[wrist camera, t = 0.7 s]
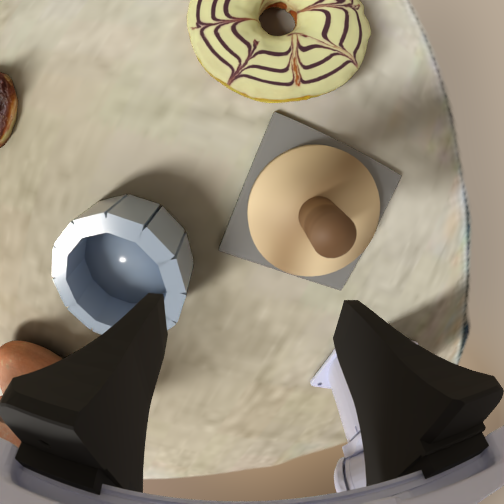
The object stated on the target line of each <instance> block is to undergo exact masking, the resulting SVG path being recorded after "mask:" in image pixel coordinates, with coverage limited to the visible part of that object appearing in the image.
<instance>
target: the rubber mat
mask: <svg viewBox="0 0 504 504" xmlns="http://www.w3.org/2000/svg"><path fill="white" fill-rule="evenodd" d="M312 144H318V145H326V146H330V147H334V148H337V149H340V150H342V151H345V152H347V153H349V154H350V155H352V156H354V157H355V158H356V159H358V160H359V161H360V162H361V163H362V164H363V165H364V166H365V167H366V168H367V169H368V171H369V172H370V174H371V175H372V177H373V179H374V181H375V183H376V186H377V189H378V193H379V198H380V216H379V221H380V219H381V217H382V215H383V213H384V211H385V209H386V207H387V205H388V203H389V201H390V199H391V197H392V195H393V193H394V191H395V189H396V187H397V185H398V182H399V180H400V178H401V175H400V174H398V173H396V172H395V171H393V170H391V169H390V168H388V167H386V166H384V165H383V164H381V163H379V162H377V161H376V160H374V159H372V158H370V157H368V156H367V155H365V154H363V153H361V152H359V151H357V150H355V149H354V148H352V147H350V146H348V145H346V144H344V143H342V142H340V141H338V140H336V139H334V138H332V137H330V136H328V135H326V134H324V133H322V132H319V131H317V130H315V129H313V128H311V127H309V126H306V125H304V124H302V123H300V122H298V121H295V120H293V119H291V118H288V117H286V116H284V115H281V114H279V113H276V112H274V113H273V115H272V118H271V120H270V122H269V125H268V127H267V129H266V132H265V134H264V137H263V139H262V141H261V144H260V146H259V149H258V151H257V153H256V156H255V158H254V161H253V163H252V166H251V168H250V170H249V173H248V175H247V178H246V180H245V183H244V185H243V188H242V190H241V193H240V195H239V198H238V200H237V203H236V205H235V208H234V210H233V213H232V216H231V218H230V221H229V223H228V226H227V228H226V231H225V234H224V236H223V239H222V241H221V244H220V247H219V251H221V252H224V253H227V254H230V255H233V256H236V257H239V258H242V259H245V260H248V261H251V262H254V263H257V264H260V265H263V266H266V267H269V268H272V269H276V270H279V271H282V270H280V269H278V268H277V267H275V266H274V265H272V264H271V263H270V262H268V261H267V260H266V259H265V258H264V257H263V256H262V254H261V253H260V252H259V250H258V249H257V247H256V245H255V244H254V242H253V239H252V236H251V234H250V229H249V224H248V215H247V207H248V199H249V194H250V191H251V188H252V186H253V184H254V182H255V180H256V178H257V176H258V175H259V173H260V172H261V171H262V169H263V168H264V167H265V166H266V165H267V164H268V163H269V162H270V161H271V160H273V159H274V158H275V157H277V156H278V155H280V154H281V153H283V152H285V151H287V150H289V149H292V148H295V147H298V146H303V145H312ZM379 221H378V223H379ZM362 253H363V252H362ZM362 253H361V254H360V255H359V256H358V257H357V258H356V259H355V260H354V261H353V262H351V263H350V264H348V265H347V266H345V267H344V268H342V269H340V270H337V271H335V272H332V273H329V274H325V275H321V276H298V275H294V274H291V275H294V276H297V277H300V278H303V279H306V280H309V281H312V282H316V283H319V284H322V285H325V286H328V287H331V288H334V289H337V290H340V291H341V290H342V288H343V286H344V285H345V283H346V281H347V279H348V278H349V276H350V274H351V273H352V271H353V269H354V267H355V266H356V264H357V262H358V260H359V258H360V257H361V255H362ZM282 272H285V271H282ZM285 273H287V272H285ZM288 274H290V273H288Z"/></svg>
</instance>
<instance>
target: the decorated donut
mask: <svg viewBox="0 0 504 504" xmlns="http://www.w3.org/2000/svg"><path fill="white" fill-rule="evenodd" d="M270 7H279V8H281V9H285V10H286V12H288V13H290V14H291V15H292V16H293V18H294V20H295V28H294V30H293V31H292V32H290V33H288V34H285V35H282V36H273V35H269V34H268V33H267V32H265V31H264V30H263V28H262V27H261V25H260V24H261V23H260V22H259V16H260V15H262V12H263V11H264V10H266V9H267V8H268V9H269V8H270ZM187 27H188V32H189V35H190V40H191V44H192V47H193V50H194V52H195V54H196V56H197V58H198V60H199V62H200V63H201V65H202V66H203V67H204V68H205V70H206V71H207V72H208V73H209V74H210V75H211V76H212V77H213V78H214V79H216V80H217V81H218V82H220V83H222V85H224V86H226V87H227V88H229V89H231V90H232V91H234V92H236V93H238V94H240V95H243V96H244V97H247V98H250V99H253V100H256V101H260V102H266V103H282V102H290V101H300V100H307V99H310V98H313V97H318V96H320V95H323V94H326V93H329V92H331V91H333V90H335V89H336V88H338V87H340V86H342V85H343V84H345V83H346V82H347V81H348V80H349V79H350V78H351V77H352V76H353V75H354V73H355V72H357V70H358V69H359V67H360V65H361V63H362V61H363V58H364V55H365V53H366V48H367V44H368V39H369V37H370V35H371V29H370V25H369V22H368V20H367V18H366V17H365V15H364V6H363V4H362V3H361V1H360V0H191V1H190V3H189V9H188V13H187Z"/></svg>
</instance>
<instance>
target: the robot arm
mask: <svg viewBox="0 0 504 504" xmlns="http://www.w3.org/2000/svg"><path fill="white" fill-rule="evenodd" d="M167 335H168V333H167V324H166V315H165V305H164V295H163V294H156V293H148V294H147V295H146V296H145V297H144V298H143V299H141V300H140V301H139V302H138V303H137V304H136V305H135V306H134V307H133V308H132V309H131V310H130V311H129V312H128V313H127V314H126V315H124V316H123V317H122V318H121V319H120V320H119V321H118V322H117V323H115V324H114V325H113V326H112V327H111V328H109V329H108V330H107V331H106V332H105V333H103V334H102V335H101V336H99V337H98V338H97V339H95V340H94V341H92V342H91V343H89V344H88V345H86V346H85V347H83V348H82V349H80V350H78V351H76V352H75V353H73V354H71V355H69V356H67V357H66V358H64V359H62V360H60V361H58V362H56V363H53V364H51V365H49V366H46V367H44V368H42V369H39V370H36V371H33V372H30V373H27V374H24V375H21V376H18V377H14V378H12V380H11V382H10V383H9V385H8V387H7V389H6V390H5V392H4V394H3V396H2V398H1V399H0V416H1V418H2V419H3V421H4V422H5V423H6V424H7V426H8V427H9V428H10V429H11V430H12V432H13V433H14V434H15V435H16V436H17V437H18V438H19V439H20V441H21V444H20V446H19V448H18V447H17V446H15V445H14V444H12V443H11V442H9V441H7V440H5V439H3V438H1V437H0V504H477V503H478V502H480V501H481V500H483V499H484V498H486V497H487V496H489V495H491V494H492V493H493V492H495V491H496V490H498V489H499V488H501V487H502V486H503V485H504V426H502V427H500V428H498V429H496V430H495V431H493V432H491V433H490V434H488V435H487V436H486V437H484V435H483V433H482V432H483V431H484V430H485V425H484V424H483V421H484V420H485V419H486V418H487V417H488V415H489V414H490V413H491V412H492V411H493V410H494V408H495V407H496V406H497V404H498V403H499V402H500V400H501V398H502V396H503V392H504V391H503V388H502V387H501V385H500V384H499V383H498V381H497V380H496V378H495V377H494V376H491V375H487V374H483V373H480V372H476V371H472V370H469V369H467V368H464V367H461V366H459V365H456V364H454V363H451V362H449V361H447V360H445V359H443V358H441V357H438V356H436V355H435V354H433V353H431V352H429V351H427V350H426V349H424V348H422V347H421V346H419V345H418V343H417V342H416V341H412V340H410V339H408V338H407V337H405V336H404V335H403V334H401V333H400V332H398V331H397V330H396V329H394V328H393V327H392V326H391V325H389V324H388V323H387V322H385V321H384V320H383V319H382V318H380V317H379V316H378V315H377V314H375V313H374V312H373V311H372V310H370V309H369V308H368V307H366V306H365V305H364V304H362V303H361V302H359V301H358V300H344V303H343V307H342V310H341V313H340V317H339V320H338V324H337V327H336V330H335V333H334V337H333V340H334V345H335V349H334V351H333V352H332V353H331V355H330V356H329V357H328V359H327V360H326V361H325V363H324V364H323V365H322V367H321V368H320V369H319V371H318V372H317V373H316V374H315V376H314V377H313V378H312V380H311V381H310V383H311V385H312V386H316V387H323V388H330V389H332V392H333V395H334V398H335V401H336V405H337V408H338V411H339V414H340V418H341V421H342V424H343V428H344V431H345V434H346V438H347V441H348V444H346V445H344V446H343V447H342V448H343V452H344V456H345V457H342V458H340V459H339V460H338V463H337V466H336V468H335V472H334V482H335V488H336V491H337V493H333V494H327V495H320V496H313V497H305V498H296V499H286V500H274V501H248V502H247V501H246V502H245V501H244V502H237V501H236V502H235V501H234V502H233V501H232V502H231V501H205V500H193V499H182V498H173V497H166V496H159V495H152V494H146V493H143V464H144V449H145V439H146V430H147V423H148V415H149V409H150V404H151V400H152V396H153V392H154V389H155V385H156V382H157V379H158V375H159V372H160V368H161V365H162V361H163V358H164V354H165V348H166V342H167Z"/></svg>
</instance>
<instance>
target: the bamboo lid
mask: <svg viewBox="0 0 504 504" xmlns="http://www.w3.org/2000/svg"><path fill="white" fill-rule="evenodd" d="M247 215H248V224H249V229H250V234H251V236H252V239H253V242H254V244H255V245H256V247H257V249H258V250H259V252H260V253H261V254H262V256H263V257H264V258H265V259H266V260H267V261H268V262H270V263H271V264H272V265H274V266H275V267H277V268H278V269H280V270H282V271H285V272H287V273H290V274H294V275H298V276H321V275H325V274H329V273H332V272H335V271H337V270H340V269H342V268H344V267H345V266H347V265H348V264H350V263H351V262H353V261H354V260H355V259H356V258H357V257H358V256H359V255H360V254H361V253H362V252H363V251H364V250H365V249H366V247H367V246H368V244H369V243H370V241H371V240H372V238H373V236H374V233H375V231H376V228H377V225H378V221H379V216H380V198H379V193H378V189H377V186H376V183H375V181H374V179H373V177H372V175H371V174H370V172H369V171H368V169H367V168H366V167H365V166H364V165H363V164H362V163H361V162H360V161H359V160H358V159H356V158H355V157H354V156H352V155H350V154H349V153H347V152H345V151H342V150H340V149H337V148H334V147H330V146H326V145H318V144H312V145H303V146H298V147H295V148H292V149H289V150H287V151H285V152H283V153H281V154H280V155H278V156H277V157H275V158H274V159H273V160H271V161H270V162H269V163H268V164H267V165H266V166H265V167H264V168H263V169H262V171H261V172H260V173H259V175H258V176H257V178H256V180H255V182H254V184H253V186H252V188H251V191H250V194H249V199H248V207H247Z"/></svg>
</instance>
